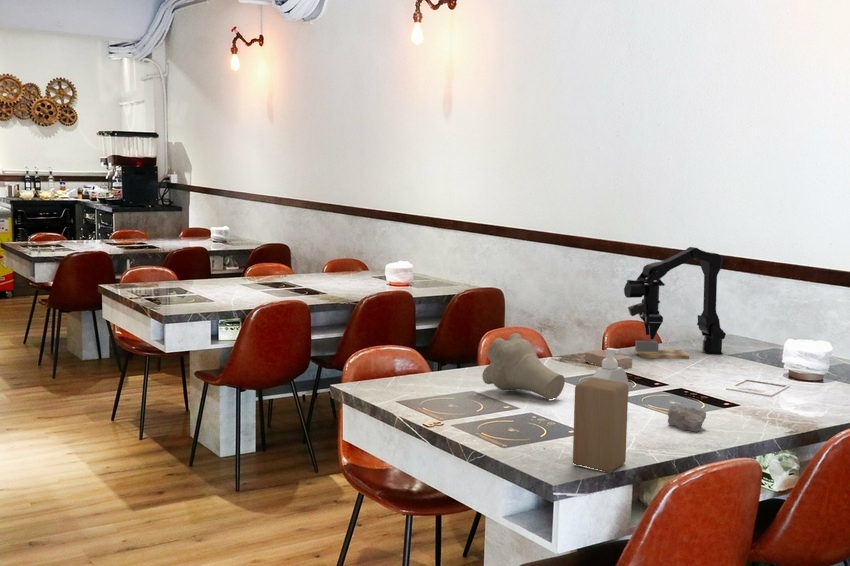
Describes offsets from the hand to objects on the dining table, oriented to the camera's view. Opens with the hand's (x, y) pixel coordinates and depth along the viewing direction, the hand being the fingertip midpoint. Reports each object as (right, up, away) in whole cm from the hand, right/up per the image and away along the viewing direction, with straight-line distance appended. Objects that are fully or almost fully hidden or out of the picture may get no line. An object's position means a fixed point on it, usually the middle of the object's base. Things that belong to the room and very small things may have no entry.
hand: (649, 337), depth 345 cm
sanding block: (-1, -6, +1) cm, 6 cm away
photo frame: (+23, -14, -52) cm, 59 cm away
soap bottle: (-34, -18, -89) cm, 97 cm away
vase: (-55, -15, -66) cm, 87 cm away
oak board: (+5, -7, +1) cm, 9 cm away
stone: (-15, -19, -99) cm, 102 cm away
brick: (-20, -10, -18) cm, 29 cm away
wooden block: (-46, -23, -132) cm, 142 cm away
